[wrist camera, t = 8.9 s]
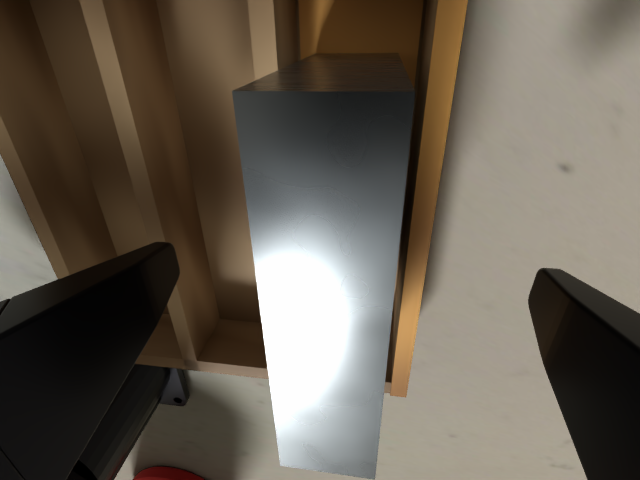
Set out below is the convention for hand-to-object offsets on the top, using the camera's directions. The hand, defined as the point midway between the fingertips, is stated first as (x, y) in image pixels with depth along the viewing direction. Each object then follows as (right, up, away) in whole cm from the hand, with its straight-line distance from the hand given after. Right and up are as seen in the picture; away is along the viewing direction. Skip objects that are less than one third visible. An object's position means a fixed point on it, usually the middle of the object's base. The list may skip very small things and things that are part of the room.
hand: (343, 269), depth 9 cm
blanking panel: (+1, +2, +4) cm, 5 cm away
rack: (-3, +3, +5) cm, 7 cm away
